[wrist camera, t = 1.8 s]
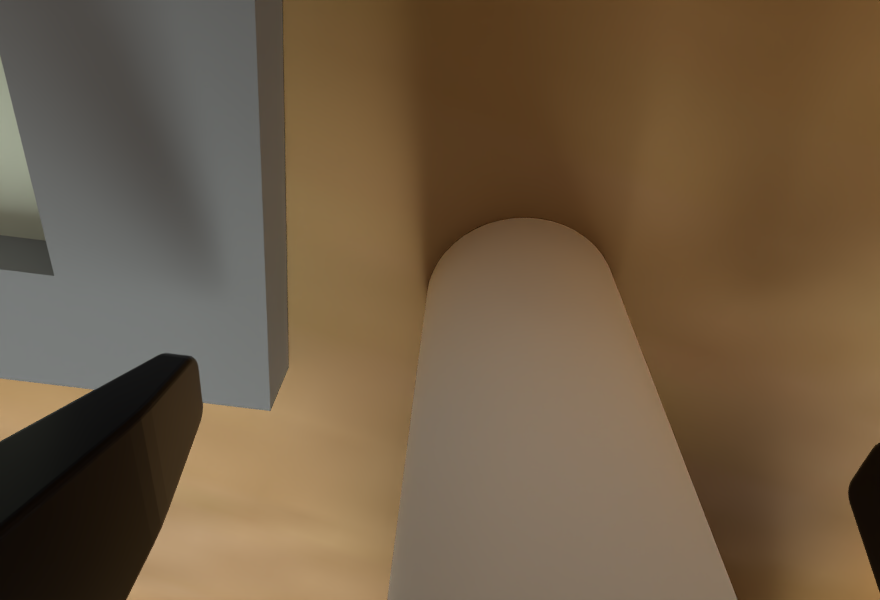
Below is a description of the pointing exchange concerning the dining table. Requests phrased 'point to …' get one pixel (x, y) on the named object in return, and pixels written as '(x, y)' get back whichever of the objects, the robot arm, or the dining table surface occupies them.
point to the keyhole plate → (143, 192)
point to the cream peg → (542, 438)
